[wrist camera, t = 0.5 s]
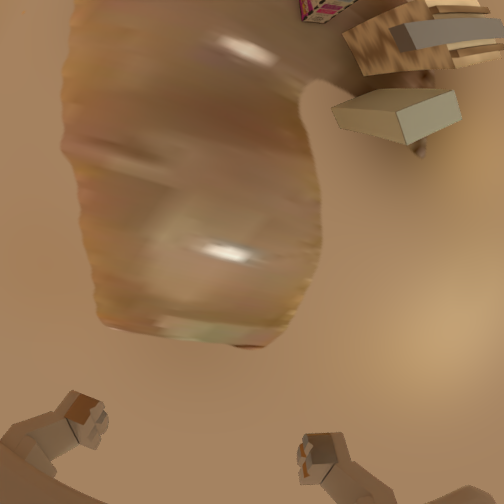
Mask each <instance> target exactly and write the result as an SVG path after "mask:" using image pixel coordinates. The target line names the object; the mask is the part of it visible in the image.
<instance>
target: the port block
mask: <svg viewBox="0 0 504 504" xmlns="http://www.w3.org/2000/svg"><path fill="white" fill-rule="evenodd" d="M331 110H332V112H333V114H334V116H335V118H336V120H337V123H338V125H339V127H340V128H341V129H345V130H350V131H355V132H359V133H363V134H368V135H372V136H376V137H380V138H384V139H387V140H391V141H394V142H398V143H401V144H405V145H409V144H411V143H413V142H415V141H417V140H419V139H421V138H423V137H425V136H427V135H430V134H431V133H433V132H436V131H438V130H440V129H442V128H445V127H447V126H449V125H451V124H453V123H455V122H457V121H460V120H462V117H461V113H460V110H459V106H458V102H457V99H456V95H455V92H454V90H446V89H425V88H392V89H377V90H374V91H371V92H369V93H366V94H364V95H361V96H358V97H356V98H354V99H351V100H349V101H346V102H344V103H341V104H339V105H337V106H334V107H332V108H331Z"/></svg>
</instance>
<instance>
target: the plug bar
mask: <svg viewBox="0 0 504 504" xmlns="http://www.w3.org/2000/svg"><path fill="white" fill-rule="evenodd" d="M388 29H389V31H390V33H391V35H392V37H393V39H394V41H395V43H396V45H397V47H398V49H399V51H400V53H402V52H407V51H413V50H418V49H423V48H428V47H433V46H438V45H443V44H449V43H455V42H462V41H470V40H479V39H491V38H504V26H503V24H502V22H501V19H493V18H448V19H435V20H425V21H416V22H409V23H403V24H400V25H397V26H394V27H391V28H388Z"/></svg>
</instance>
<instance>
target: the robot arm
mask: <svg viewBox="0 0 504 504" xmlns="http://www.w3.org/2000/svg"><path fill="white" fill-rule="evenodd" d="M104 408H105V406H104V403H103V402H102V401H99V400H96V399H94V398H91V397H89V396H86V395H84V394H81V393H79V392H76V391H74V390H72V391H70V392H69V393H68V394H67V396H66V397H65V398H64V400H63V401H62V402H61V404H60V405H59V406H58V407H57V409H56V410H55V411H54V412H52V411H50V412H48V413H45V414H42V415H40V416H37V417H34V418H31V419H28V420H25V421H22V422H19V423H16V424H13V425H12V426H11V427H10V428H9V430H8V431H7V432H6V433H5V435H4V436H3V437H2V438H1V440H0V504H107V503H104V502H102V501H99V500H97V499H95V498H92V497H90V496H88V495H85V494H83V493H81V492H79V491H77V490H75V489H73V488H71V487H69V486H67V485H65V484H63V483H61V482H60V481H58V480H56V479H54V476H55V475H56V473H57V470H56V468H55V467H54V466H53V464H52V463H51V462H50V461H52V460H54V459H55V458H57V457H59V456H61V455H62V454H64V453H66V452H68V451H70V450H71V449H73V448H75V447H76V446H78V445H79V444H81V445H83V446H86V447H88V448H91V449H93V450H96V449H97V447H98V445H99V443H100V441H101V437H100V435H102V434H104V433H105V432H106V430H107V428H108V423H109V420H108V415H107V413H106V412H105V411H104ZM302 441H303V443H302V444H300V445H299V447H298V451H297V464H298V465H299V466H300V467H301V469H300V471H299V481H300V485H313V484H314V485H315V484H320V485H321V487H322V488H323V489H324V490H325V491H326V492H327V493H328V494H329V495H330V496H331V497H332V498H333V500H334V501H335V502H336V503H337V504H397V501H396V499H395V496H394V493H393V490H392V489H391V488H390V487H388V486H387V485H385V484H384V483H383V482H381V481H380V480H378V479H377V478H376V477H374V476H373V475H372V474H370V473H369V472H368V471H367V470H365V469H364V468H363V467H361V466H360V465H359V464H358V463H356V462H355V461H353V462H351V458H350V455H349V452H348V448H347V445H346V442H345V438H344V435H343V433H342V432H336V433H311V434H305V435H304V436H303V438H302ZM426 504H496V502H495V500H494V498H493V497H492V496H491V495H490V494H489V493H487V492H485V491H483V490H481V489H478V488H476V487H473V486H470V485H467V486H463V487H461V488H459V489H457V490H455V491H453V492H451V493H449V494H446V495H444V496H442V497H440V498H438V499H435V500H433V501H430V502H428V503H426Z"/></svg>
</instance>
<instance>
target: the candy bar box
mask: <svg viewBox="0 0 504 504" xmlns="http://www.w3.org/2000/svg"><path fill="white" fill-rule="evenodd" d="M356 1H358V0H299V2H300V9H301V17H302V21H304V22H316V23H326V22H327V21H329V20H330V19H331V18H333V17H334V16H336V15H337V14H339V13H340V12H341V11H343V10H344V9H346V8H347V7H349V6H350V5H352V4H353V3H355V2H356Z"/></svg>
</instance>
